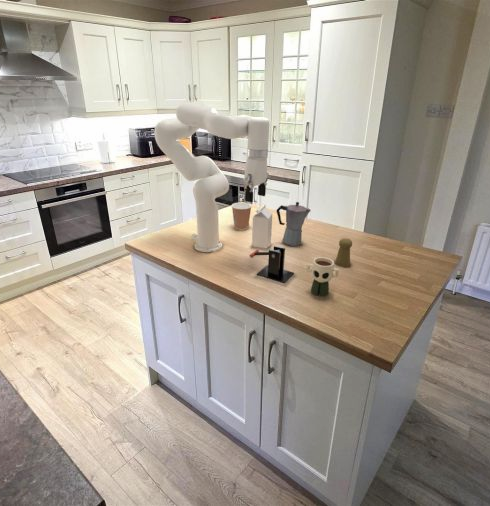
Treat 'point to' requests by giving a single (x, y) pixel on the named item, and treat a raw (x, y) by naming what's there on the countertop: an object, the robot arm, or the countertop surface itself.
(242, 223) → the coffee cup
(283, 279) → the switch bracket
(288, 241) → the moka pot
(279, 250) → the switch lever
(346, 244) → the olive pepper mill
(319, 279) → the character mug
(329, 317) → the countertop surface
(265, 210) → the milk carton
